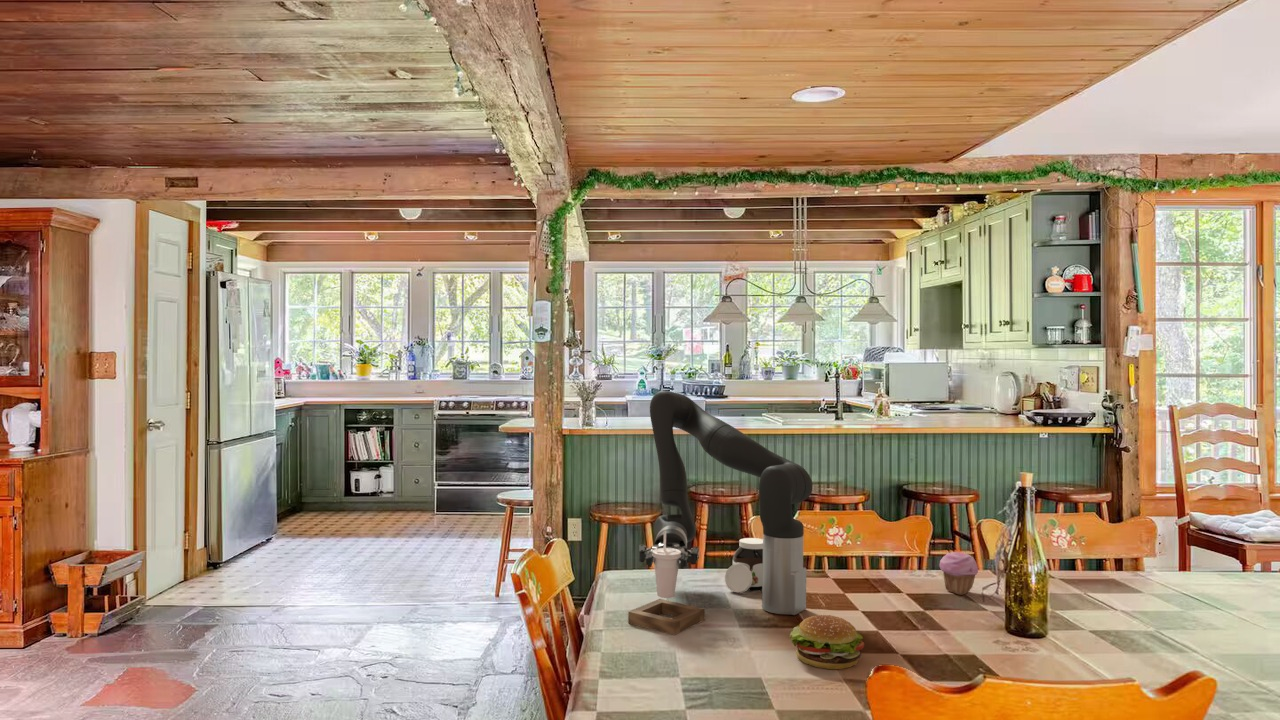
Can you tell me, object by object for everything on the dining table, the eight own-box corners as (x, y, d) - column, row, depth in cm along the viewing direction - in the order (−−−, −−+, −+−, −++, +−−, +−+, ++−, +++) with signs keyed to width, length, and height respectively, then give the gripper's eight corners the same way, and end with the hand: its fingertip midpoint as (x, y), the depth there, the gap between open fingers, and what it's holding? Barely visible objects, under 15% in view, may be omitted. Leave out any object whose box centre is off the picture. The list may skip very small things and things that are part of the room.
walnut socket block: (704, 620, 177) (704, 608, 177) (674, 634, 167) (674, 622, 167) (659, 609, 184) (659, 598, 184) (628, 623, 174) (628, 611, 174)
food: (808, 640, 165) (809, 602, 165) (874, 657, 156) (874, 616, 156) (774, 659, 154) (775, 618, 154) (842, 678, 145) (843, 634, 145)
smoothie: (646, 592, 177) (647, 529, 177) (672, 589, 180) (673, 527, 180) (659, 601, 171) (660, 536, 171) (685, 597, 174) (687, 533, 174)
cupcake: (932, 589, 203) (932, 549, 203) (957, 585, 207) (958, 546, 207) (959, 599, 195) (960, 558, 195) (985, 595, 199) (986, 554, 199)
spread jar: (771, 583, 207) (772, 538, 207) (774, 596, 195) (775, 548, 195) (724, 581, 208) (725, 536, 208) (724, 594, 197) (725, 546, 197)
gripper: (640, 527, 190) (633, 544, 174) (701, 529, 189) (699, 547, 172) (640, 558, 191) (632, 578, 174) (701, 561, 189) (699, 582, 172)
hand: (666, 563), depth 173 cm, fingers closed on smoothie, 6 cm apart
